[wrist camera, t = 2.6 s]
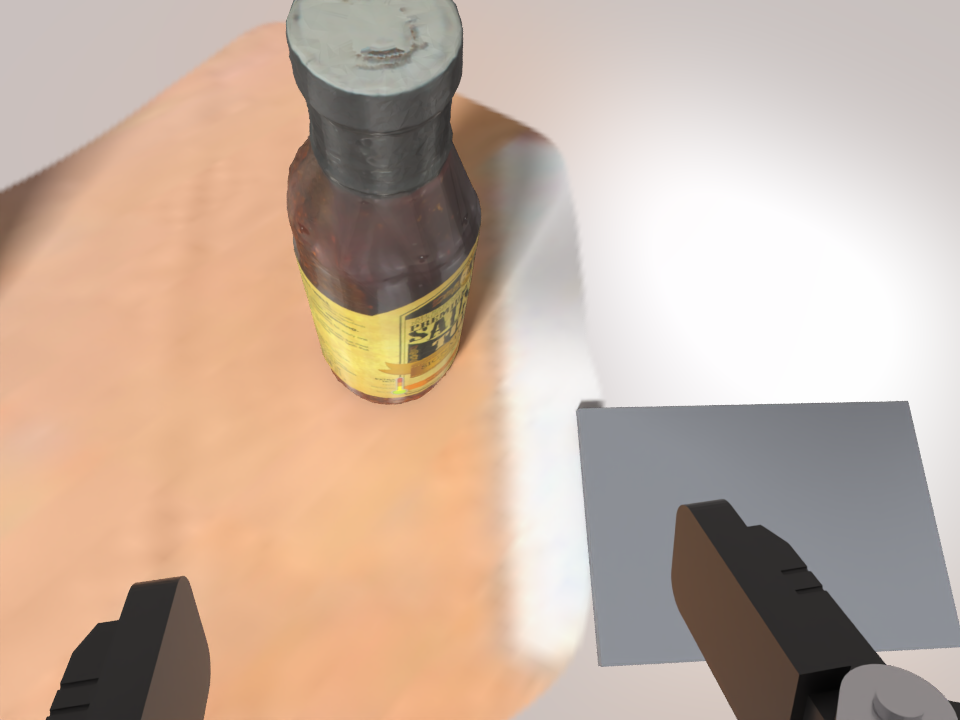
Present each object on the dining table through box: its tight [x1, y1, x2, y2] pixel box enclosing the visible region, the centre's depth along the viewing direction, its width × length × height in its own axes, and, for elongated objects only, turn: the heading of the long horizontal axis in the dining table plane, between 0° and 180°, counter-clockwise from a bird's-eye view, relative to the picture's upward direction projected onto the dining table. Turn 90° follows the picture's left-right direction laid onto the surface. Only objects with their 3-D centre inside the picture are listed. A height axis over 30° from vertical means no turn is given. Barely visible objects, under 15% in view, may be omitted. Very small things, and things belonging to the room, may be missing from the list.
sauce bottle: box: [286, 0, 481, 404], centre depth 26 cm, size 6×6×20 cm
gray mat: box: [576, 401, 960, 667], centre depth 34 cm, size 16×11×1 cm
